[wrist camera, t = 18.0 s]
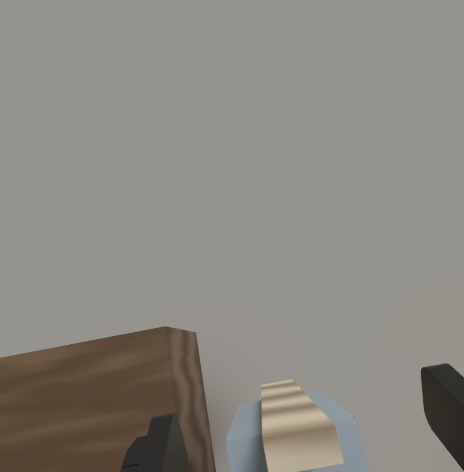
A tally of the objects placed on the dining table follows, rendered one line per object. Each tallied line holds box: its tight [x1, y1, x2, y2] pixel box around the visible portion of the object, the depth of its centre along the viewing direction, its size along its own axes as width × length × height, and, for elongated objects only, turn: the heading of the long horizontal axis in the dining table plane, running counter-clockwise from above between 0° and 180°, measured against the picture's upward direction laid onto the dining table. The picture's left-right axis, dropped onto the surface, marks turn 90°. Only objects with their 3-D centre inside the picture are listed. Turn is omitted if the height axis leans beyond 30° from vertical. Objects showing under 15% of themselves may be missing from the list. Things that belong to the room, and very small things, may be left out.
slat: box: [261, 379, 344, 472], centre depth 28 cm, size 24×4×2 cm, turn 175°
